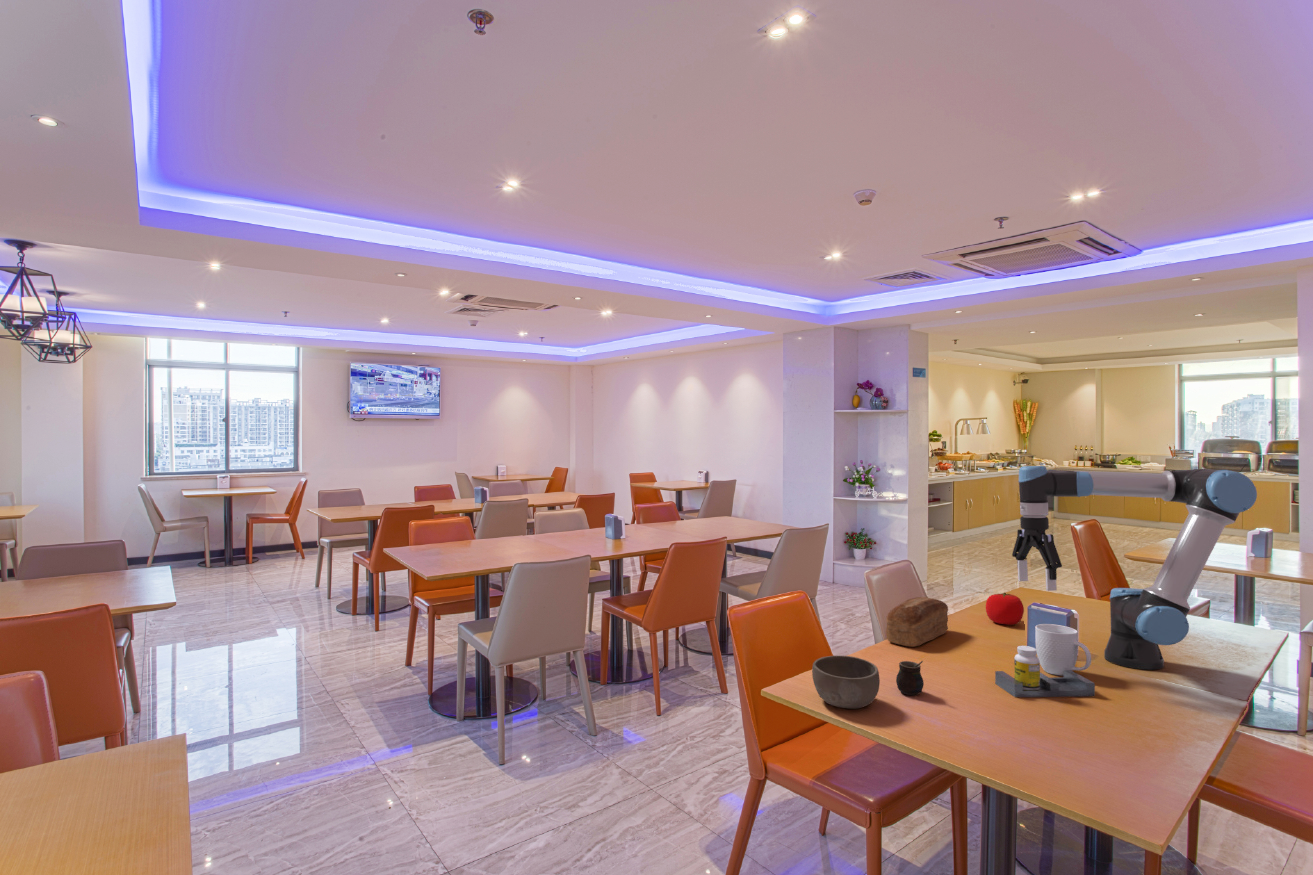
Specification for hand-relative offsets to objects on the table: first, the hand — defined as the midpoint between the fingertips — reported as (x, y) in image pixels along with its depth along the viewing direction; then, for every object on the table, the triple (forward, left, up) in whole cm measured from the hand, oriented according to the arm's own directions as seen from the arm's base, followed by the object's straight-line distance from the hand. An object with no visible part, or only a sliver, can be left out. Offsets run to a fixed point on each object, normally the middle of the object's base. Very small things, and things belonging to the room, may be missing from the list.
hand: (1036, 585), depth 201 cm
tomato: (-18, -50, -26) cm, 59 cm away
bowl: (+66, +24, -26) cm, 75 cm away
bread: (+23, -33, -26) cm, 48 cm away
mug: (-5, +4, -26) cm, 26 cm away
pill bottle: (+13, +17, -25) cm, 33 cm away
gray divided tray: (+8, +17, -25) cm, 32 cm away
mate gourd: (+46, +18, -26) cm, 56 cm away
